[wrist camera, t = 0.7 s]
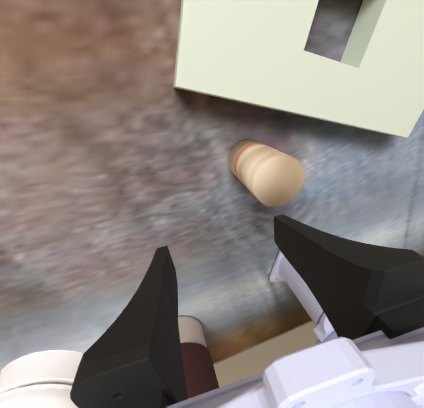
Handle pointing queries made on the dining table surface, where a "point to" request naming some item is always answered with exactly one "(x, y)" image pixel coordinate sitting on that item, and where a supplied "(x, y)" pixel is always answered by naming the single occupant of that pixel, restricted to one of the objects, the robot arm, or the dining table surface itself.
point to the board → (307, 61)
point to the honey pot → (39, 380)
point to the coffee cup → (196, 358)
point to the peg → (266, 172)
